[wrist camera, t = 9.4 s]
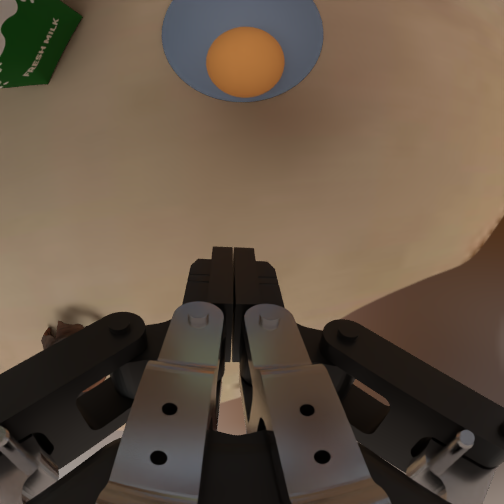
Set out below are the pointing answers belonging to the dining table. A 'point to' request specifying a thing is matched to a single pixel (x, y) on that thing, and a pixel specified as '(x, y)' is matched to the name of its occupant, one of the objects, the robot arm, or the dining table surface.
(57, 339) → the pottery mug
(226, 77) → the ball
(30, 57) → the milk carton
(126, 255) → the dining table surface
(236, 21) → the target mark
